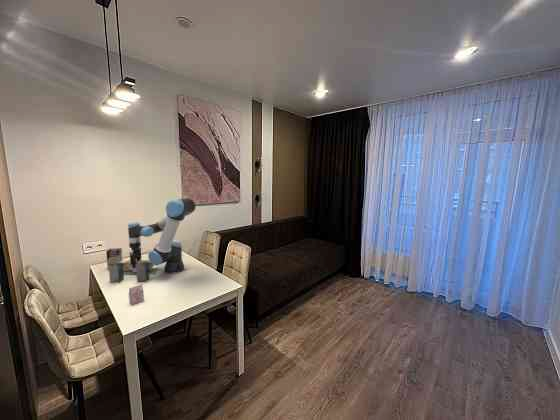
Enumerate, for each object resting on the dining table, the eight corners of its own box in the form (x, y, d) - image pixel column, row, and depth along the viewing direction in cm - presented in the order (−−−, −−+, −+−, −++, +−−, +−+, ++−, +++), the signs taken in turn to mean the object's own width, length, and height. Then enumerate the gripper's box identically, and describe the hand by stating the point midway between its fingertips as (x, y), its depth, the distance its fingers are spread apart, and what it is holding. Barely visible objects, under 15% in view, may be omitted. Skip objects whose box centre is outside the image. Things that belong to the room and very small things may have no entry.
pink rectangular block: (129, 302, 136) (128, 287, 135) (141, 298, 142) (140, 283, 140) (131, 305, 134) (130, 289, 133) (144, 300, 139) (143, 285, 138)
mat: (159, 268, 188) (159, 267, 187) (153, 273, 177) (153, 273, 177) (120, 269, 183) (120, 268, 183) (112, 275, 173) (112, 274, 173)
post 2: (150, 277, 170) (149, 262, 168) (145, 282, 163) (144, 265, 161) (141, 278, 169) (140, 262, 167) (136, 282, 162) (135, 266, 160)
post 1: (124, 278, 168) (123, 262, 166) (118, 283, 160) (117, 266, 159) (115, 278, 167) (114, 262, 165) (109, 283, 160) (108, 266, 158)
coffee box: (107, 270, 181) (105, 251, 179) (110, 267, 187) (108, 248, 185) (120, 269, 184) (119, 250, 181) (123, 266, 190) (121, 247, 187)
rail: (153, 266, 184) (153, 260, 183) (151, 268, 179) (150, 262, 178) (121, 266, 180) (121, 260, 180) (118, 269, 176) (117, 263, 175)
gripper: (135, 239, 185) (137, 266, 188) (123, 245, 167) (125, 275, 171) (145, 238, 186) (146, 265, 189) (134, 245, 168) (136, 275, 172)
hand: (136, 270), depth 180 cm, fingers closed on rail, 5 cm apart
